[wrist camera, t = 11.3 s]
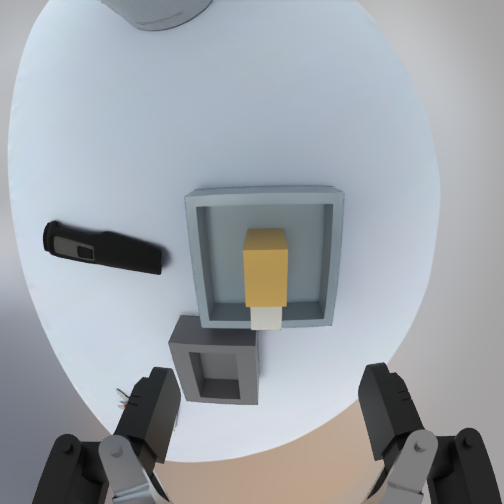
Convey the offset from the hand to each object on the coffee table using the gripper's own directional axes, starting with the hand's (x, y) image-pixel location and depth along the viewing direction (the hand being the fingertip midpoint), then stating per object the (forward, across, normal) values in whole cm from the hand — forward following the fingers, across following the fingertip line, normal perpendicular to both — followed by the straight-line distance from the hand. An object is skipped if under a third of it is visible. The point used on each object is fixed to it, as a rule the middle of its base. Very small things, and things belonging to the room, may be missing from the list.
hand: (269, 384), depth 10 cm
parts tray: (+15, 0, +1) cm, 15 cm away
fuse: (+12, 0, +5) cm, 13 cm away
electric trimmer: (+16, +17, -1) cm, 23 cm away
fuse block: (+15, +5, +12) cm, 20 cm away
